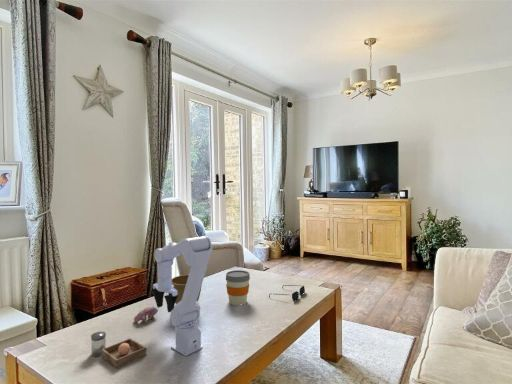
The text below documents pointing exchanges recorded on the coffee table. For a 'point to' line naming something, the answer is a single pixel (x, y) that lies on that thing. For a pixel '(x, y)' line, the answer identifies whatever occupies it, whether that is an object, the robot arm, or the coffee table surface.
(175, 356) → the coffee table surface
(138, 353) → the tray
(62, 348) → the coffee table surface
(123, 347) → the ball
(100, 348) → the shaker
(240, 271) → the reusable coffee cup
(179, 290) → the plant pot
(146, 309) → the video game controller
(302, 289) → the sunglasses
